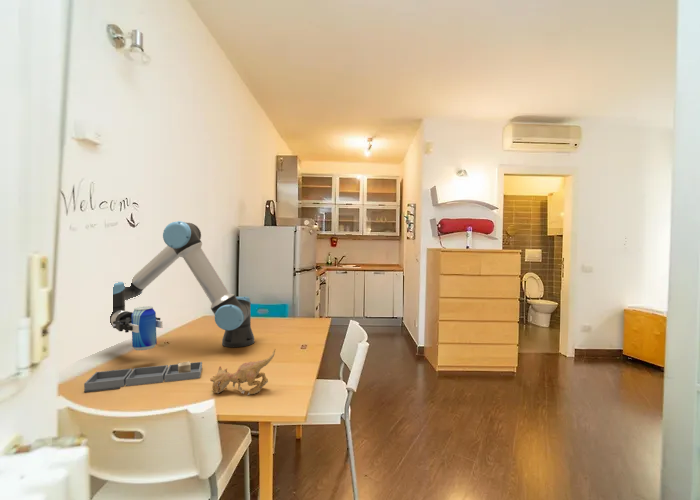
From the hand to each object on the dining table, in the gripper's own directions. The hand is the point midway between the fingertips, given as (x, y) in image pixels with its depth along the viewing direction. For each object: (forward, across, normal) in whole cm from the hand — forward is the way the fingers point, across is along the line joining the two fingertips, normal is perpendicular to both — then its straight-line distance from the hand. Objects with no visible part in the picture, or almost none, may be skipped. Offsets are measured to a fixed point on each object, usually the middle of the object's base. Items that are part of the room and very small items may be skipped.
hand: (149, 326), depth 143 cm
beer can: (-5, 0, -9) cm, 10 cm away
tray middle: (+11, +6, -17) cm, 21 cm away
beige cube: (+17, -4, -16) cm, 24 cm away
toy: (+47, -8, -18) cm, 51 cm away
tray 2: (+17, -4, -17) cm, 25 cm away
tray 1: (+4, +16, -17) cm, 23 cm away
